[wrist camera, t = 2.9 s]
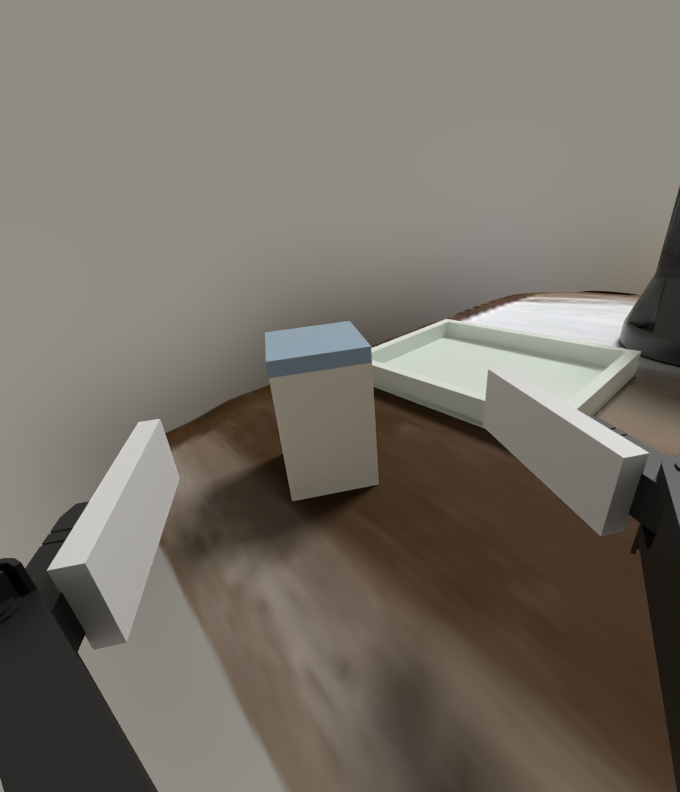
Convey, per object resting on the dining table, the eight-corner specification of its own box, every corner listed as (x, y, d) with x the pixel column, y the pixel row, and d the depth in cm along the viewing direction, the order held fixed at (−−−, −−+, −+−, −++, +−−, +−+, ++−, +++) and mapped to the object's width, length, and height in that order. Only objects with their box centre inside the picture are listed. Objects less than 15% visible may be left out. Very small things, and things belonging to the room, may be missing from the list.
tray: (445, 336, 53) (446, 319, 52) (635, 375, 37) (641, 351, 36) (349, 378, 43) (348, 357, 42) (553, 454, 27) (559, 424, 26)
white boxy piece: (358, 439, 31) (349, 320, 27) (378, 484, 26) (371, 346, 22) (286, 452, 31) (265, 332, 26) (292, 501, 25) (265, 361, 21)
